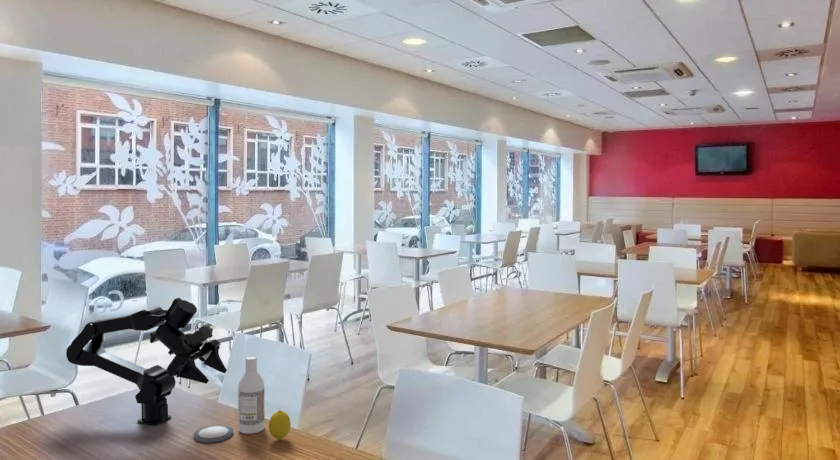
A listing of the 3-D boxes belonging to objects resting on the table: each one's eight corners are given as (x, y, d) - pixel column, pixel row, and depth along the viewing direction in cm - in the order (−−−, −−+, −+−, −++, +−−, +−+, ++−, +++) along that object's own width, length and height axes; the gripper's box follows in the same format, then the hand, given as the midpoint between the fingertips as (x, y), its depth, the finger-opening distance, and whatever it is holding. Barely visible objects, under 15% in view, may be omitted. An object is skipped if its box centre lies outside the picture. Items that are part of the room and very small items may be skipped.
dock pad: (185, 439, 158) (185, 436, 158) (210, 425, 168) (210, 422, 168) (216, 445, 155) (216, 442, 155) (240, 431, 164) (240, 427, 164)
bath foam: (266, 432, 164) (266, 359, 162) (240, 436, 161) (240, 362, 159) (261, 422, 170) (261, 353, 169) (236, 426, 167) (236, 356, 166)
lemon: (285, 445, 156) (285, 415, 155) (265, 443, 157) (265, 413, 156) (293, 436, 161) (293, 407, 160) (274, 434, 162) (274, 405, 162)
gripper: (170, 326, 157) (214, 364, 155) (209, 311, 175) (249, 346, 173) (148, 357, 159) (191, 396, 157) (189, 340, 177) (228, 375, 175)
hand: (217, 376), depth 165 cm, fingers open, 9 cm apart
